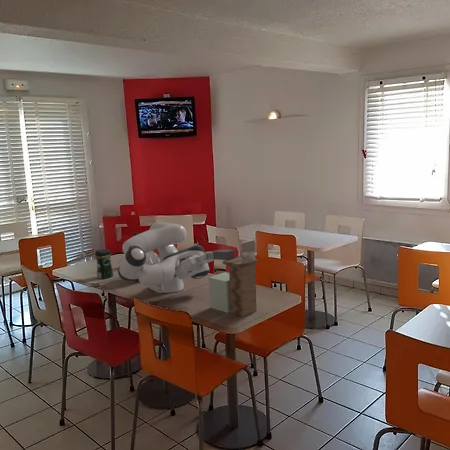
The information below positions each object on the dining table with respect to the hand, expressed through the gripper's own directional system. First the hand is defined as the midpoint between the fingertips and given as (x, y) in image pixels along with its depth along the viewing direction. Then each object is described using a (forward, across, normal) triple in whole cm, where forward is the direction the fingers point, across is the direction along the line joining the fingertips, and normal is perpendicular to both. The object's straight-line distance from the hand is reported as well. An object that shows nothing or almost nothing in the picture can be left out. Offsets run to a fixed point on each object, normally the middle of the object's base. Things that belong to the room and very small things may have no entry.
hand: (209, 254), depth 237 cm
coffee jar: (-92, +10, +23) cm, 96 cm away
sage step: (-5, -1, -28) cm, 28 cm away
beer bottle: (-97, -20, +26) cm, 103 cm away
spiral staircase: (-73, -4, +12) cm, 74 cm away
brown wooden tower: (+4, -1, -33) cm, 33 cm away
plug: (+4, 0, -4) cm, 6 cm away
